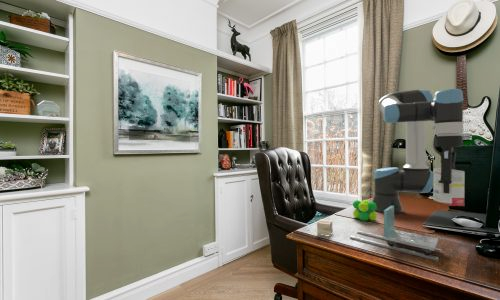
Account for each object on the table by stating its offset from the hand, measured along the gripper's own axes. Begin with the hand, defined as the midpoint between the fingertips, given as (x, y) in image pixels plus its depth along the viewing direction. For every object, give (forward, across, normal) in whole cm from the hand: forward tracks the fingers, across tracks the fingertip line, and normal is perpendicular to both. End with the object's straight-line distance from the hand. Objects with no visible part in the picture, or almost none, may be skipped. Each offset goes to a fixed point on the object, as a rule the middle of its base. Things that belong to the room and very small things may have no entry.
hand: (448, 199), depth 82 cm
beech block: (+17, +17, -38) cm, 45 cm away
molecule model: (+17, -14, -33) cm, 40 cm away
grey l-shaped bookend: (+17, +11, -9) cm, 22 cm away
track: (+17, +11, -15) cm, 25 cm away
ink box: (+1, 0, 0) cm, 1 cm away
